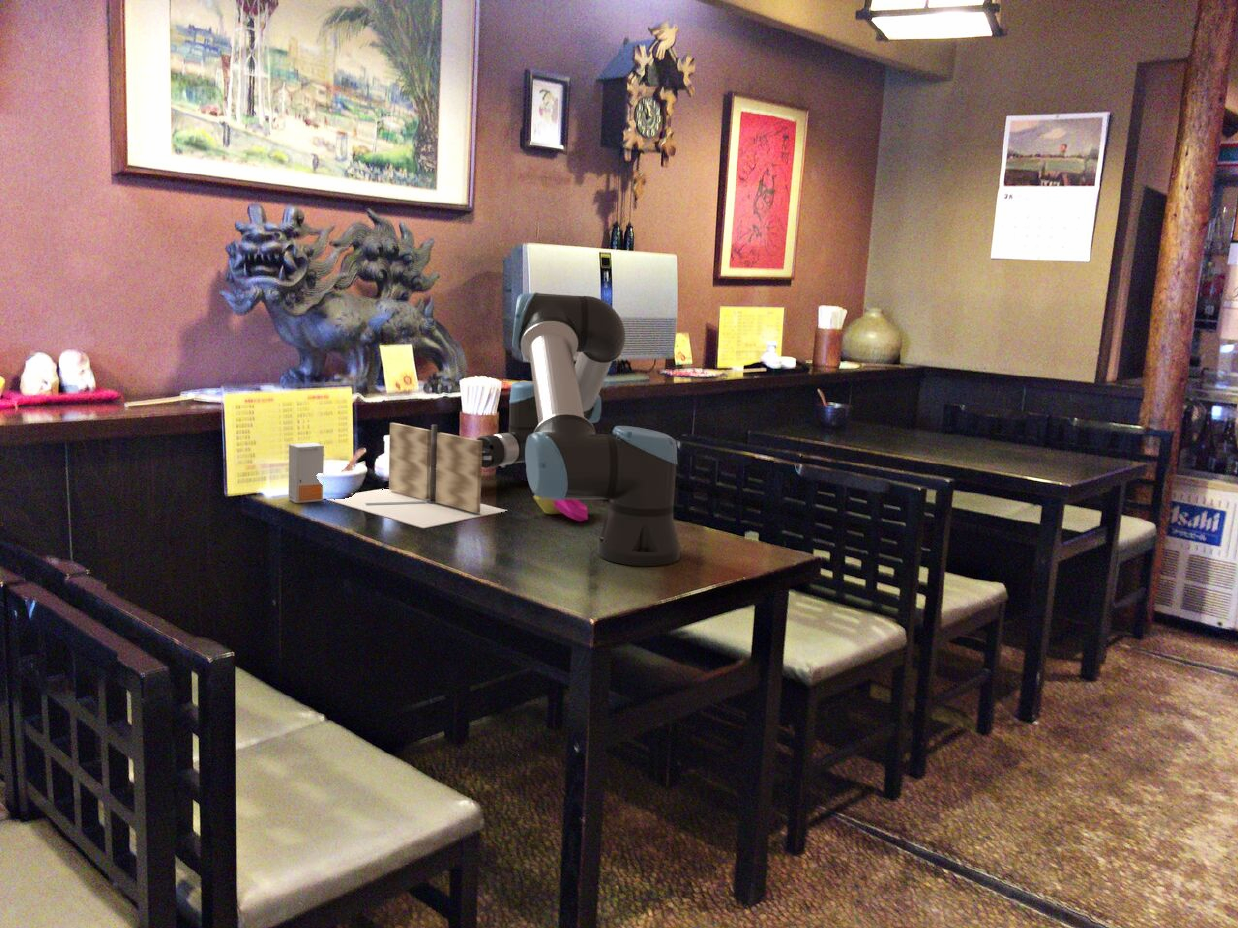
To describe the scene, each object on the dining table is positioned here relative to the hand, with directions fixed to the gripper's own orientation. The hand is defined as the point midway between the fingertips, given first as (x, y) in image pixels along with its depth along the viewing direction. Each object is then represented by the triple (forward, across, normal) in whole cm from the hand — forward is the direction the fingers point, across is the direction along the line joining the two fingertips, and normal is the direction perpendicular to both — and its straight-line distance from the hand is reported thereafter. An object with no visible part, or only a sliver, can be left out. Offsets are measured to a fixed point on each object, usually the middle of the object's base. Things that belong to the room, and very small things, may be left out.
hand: (417, 461), depth 219 cm
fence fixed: (+2, -13, -8) cm, 16 cm away
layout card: (+6, -6, -8) cm, 12 cm away
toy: (-13, -31, -8) cm, 34 cm away
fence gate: (+2, +1, -7) cm, 8 cm away
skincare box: (+21, +11, -8) cm, 25 cm away
